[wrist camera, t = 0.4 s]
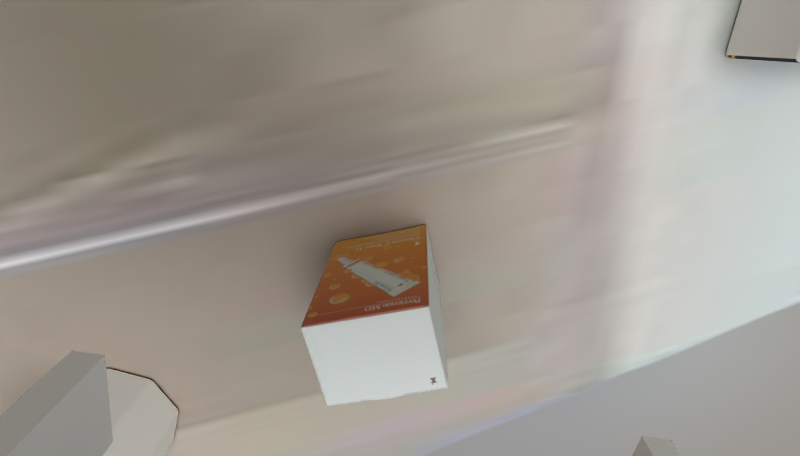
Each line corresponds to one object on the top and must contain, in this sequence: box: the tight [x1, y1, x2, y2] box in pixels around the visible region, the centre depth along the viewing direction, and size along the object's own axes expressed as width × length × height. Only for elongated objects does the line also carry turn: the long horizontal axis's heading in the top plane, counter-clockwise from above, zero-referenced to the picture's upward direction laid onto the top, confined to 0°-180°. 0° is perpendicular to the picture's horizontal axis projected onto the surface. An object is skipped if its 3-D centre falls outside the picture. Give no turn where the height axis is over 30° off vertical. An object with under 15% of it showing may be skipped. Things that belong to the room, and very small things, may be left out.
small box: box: [301, 224, 449, 406], centre depth 34 cm, size 8×6×13 cm
